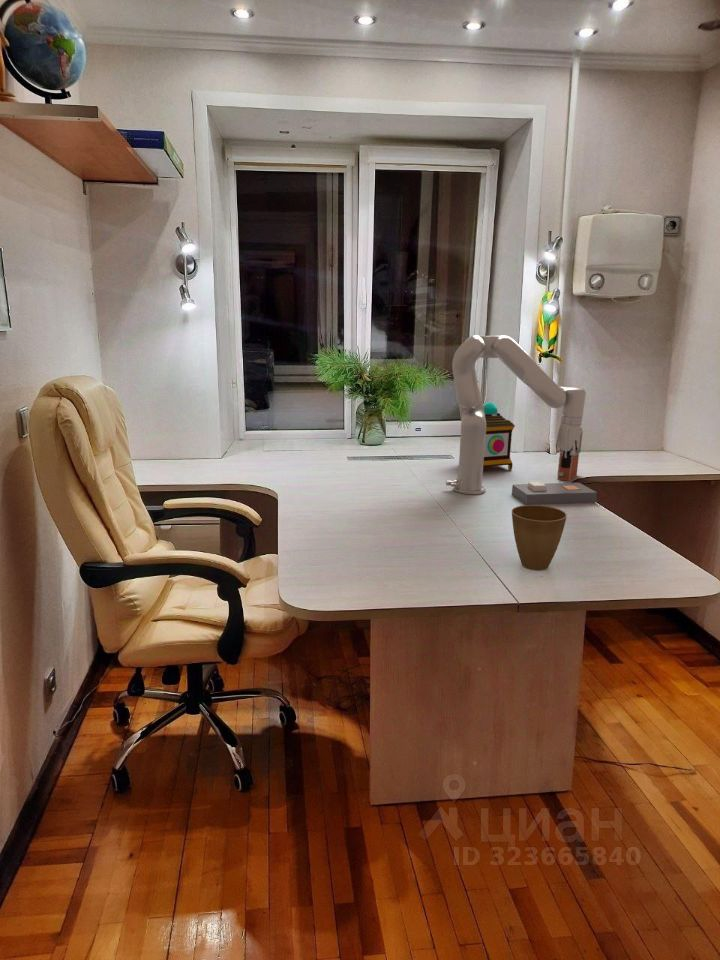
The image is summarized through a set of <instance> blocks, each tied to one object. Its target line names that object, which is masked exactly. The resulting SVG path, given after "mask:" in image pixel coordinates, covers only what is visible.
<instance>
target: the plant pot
mask: <svg viewBox="0 0 720 960" xmlns="http://www.w3.org/2000/svg"><path fill="white" fill-rule="evenodd" d="M567 516H568V515H567V513H566V511H564V510H562V509H560V508H555V507H552V506H546V505H541V504H537V505H526V504H525V505H519V506H516V507H514V508H512V509H511V519H512V530H513V536H514V541H515V546H516V550H517V553H518V557H519V560H520V563H521V566H522V567H523V568H525V569H528V570H532V571H544V570H547V569H548V568H549V566H550V565H551V562H552V561H553V559H554V557H555V554H556V552H557V550H558V548H559V544H560V543H561V538H562V535H563V533H564V528H565V525H566V521H567Z"/></svg>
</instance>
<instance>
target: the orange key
mask: <svg viewBox="0 0 720 960" xmlns="http://www.w3.org/2000/svg"><path fill="white" fill-rule="evenodd" d="M562 487H563V488H565V489H566V490H580V489H579V488H577V487H576V486H562Z"/></svg>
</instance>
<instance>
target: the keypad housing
mask: <svg viewBox="0 0 720 960" xmlns="http://www.w3.org/2000/svg"><path fill="white" fill-rule="evenodd" d="M544 484H545V485H546V491H532V490H530V489H529V488H528V483H519V484H518V483H517V484H515V483H513V484H512V485H511V495H512V496H513V497H515V499H517V500H519V501H520V502H521V503H522V504H525V505H557V504H558V505H559V504H561V505H562V504H563V505H564V504H590V503H592V502H594V503H597V495H598V491H595V490H593V489H591V488H590V487H587V486H586V485H585V484H582V483H580V482H559V483H557V482H556V483H555V482H554V483H544ZM562 486H576V487H577V488H579V489H580V490H566V489H565V488H563V487H562Z"/></svg>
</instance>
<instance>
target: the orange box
mask: <svg viewBox="0 0 720 960" xmlns="http://www.w3.org/2000/svg"><path fill="white" fill-rule="evenodd" d="M583 433H584V432H583V428H582V426H580V443H579V449H578V451H577V452H575V455H573V456H572V458H571V465H570V468H562V467H561V459H562V456H561V454H562V451H561V450H560V449H559V457H558V465H557V466H558V468H557V476H556V478H557V480H560V481H561V480H562V481H567V482H570V481H571V480H572V479H574V478H575V477H576V476H577V475H578V467H579V465H578V464H579V457H580V453H581V451H582V450H581V449H582V440H583Z"/></svg>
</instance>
